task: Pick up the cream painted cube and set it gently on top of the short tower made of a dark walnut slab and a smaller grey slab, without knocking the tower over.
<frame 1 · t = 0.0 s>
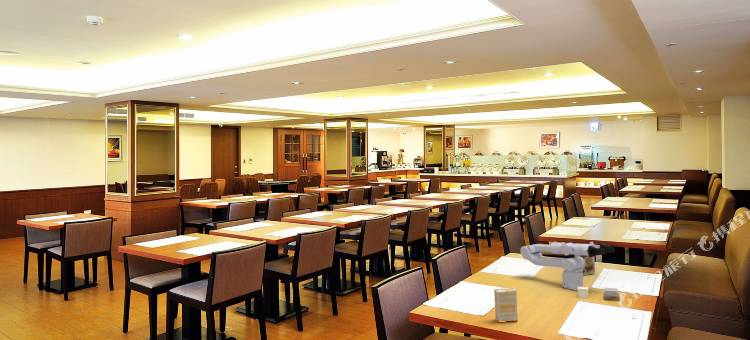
hand: (609, 250, 234), 22 cm above the table, tool horizontal, fingers open, 7 cm apart
supplement box: (506, 321, 205), on the table
walnut slab: (611, 300, 230), on the table, touching grey slab
grey slab: (611, 294, 230), point 2 cm above the table, touching walnut slab
coffee box: (585, 274, 279), on the table
cream cube: (583, 297, 234), on the table
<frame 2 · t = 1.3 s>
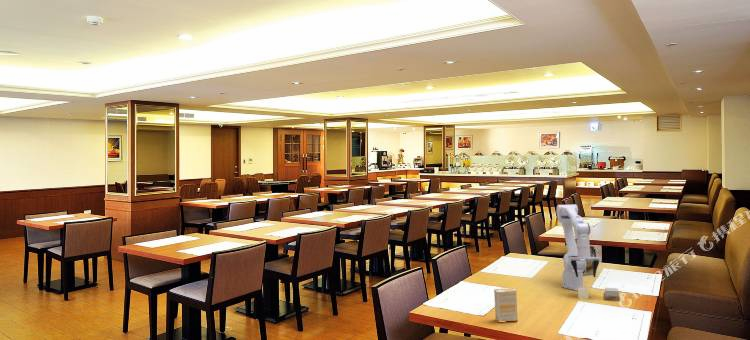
hand: (585, 276, 233), 10 cm above the table, tool pointing down, fingers open, 7 cm apart
nothing on the table moved.
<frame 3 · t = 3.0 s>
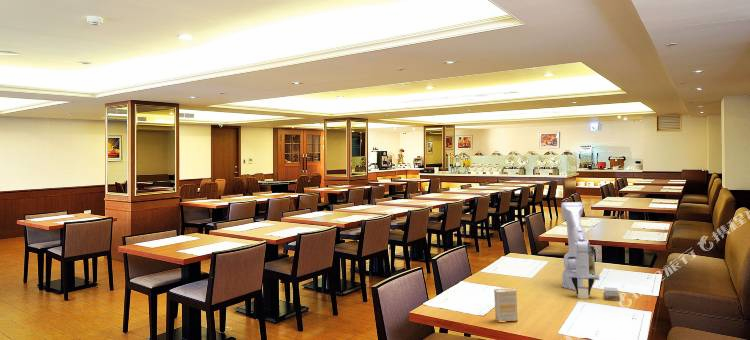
hand: (583, 294, 234), 1 cm above the table, tool pointing down, fingers closed on cream cube, 4 cm apart
walnut slab: (611, 299, 230), on the table
grey slab: (611, 294, 230), point 2 cm above the table
cream cube: (583, 297, 234), on the table, touching gripper
everything else where it was.
when the fingers open (7 cm above the table, at t = 6.3 s): cream cube drops 1 cm, resting on grey slab.
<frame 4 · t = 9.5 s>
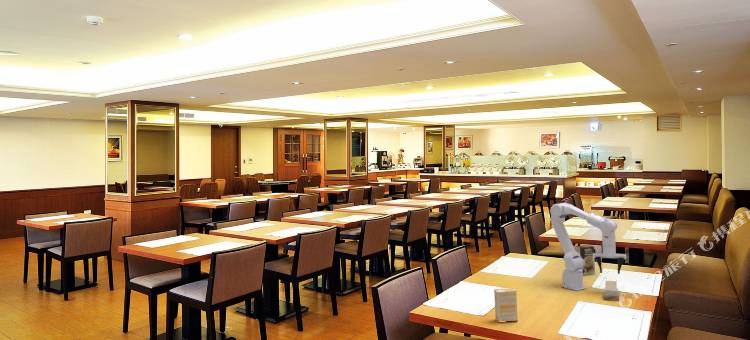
hand: (609, 273, 237), 10 cm above the table, tool pointing down, fingers open, 7 cm apart
walnut slab: (611, 299, 230), on the table, touching grey slab
grey slab: (611, 294, 230), point 2 cm above the table, touching cream cube, walnut slab
cream cube: (611, 289, 230), point 4 cm above the table, touching grey slab
everything else where it was.
at the end: cream cube 0.3 cm off-centre on the grey slab, point 2.5 cm above the grey slab's base; grey slab 0.5 cm off-centre on the walnut slab, point 2.5 cm above the walnut slab's base; walnut slab moved 0.6 cm from its start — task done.
